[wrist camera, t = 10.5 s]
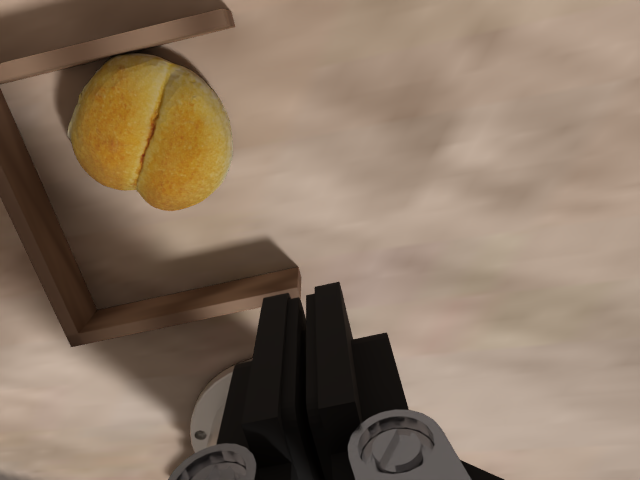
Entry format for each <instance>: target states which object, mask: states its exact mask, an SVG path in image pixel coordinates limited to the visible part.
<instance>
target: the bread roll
mask: <svg viewBox="0 0 640 480" xmlns="http://www.w3.org/2000/svg"><path fill="white" fill-rule="evenodd" d="M67 135H68V137H69V139H70V140H71V142H72V146H73V150H74V153H75V155H76V158H77V160H78V161H79V163H80V165H81V166H82V168H83V169H84V170H85V171H86V172H87V173H88V174H89V175H90V176H91V177H92V178H93V179H95V180H96V181H97V182H99V183H101V184H102V185H104V186H107V187H111V188H114V189H118V190H137V191H138V192H139V193H140V195H141V196H142V197H143V198H144V200H145V201H146V202H148V203H149V204H150V205H151V206H153V207H155V208H158V209H161V210H168V211H174V210H180V209H184V208H187V207H190V206H193V205H195V204H197V203H199V202H201V201H203V200H204V199H205V198H207V197H208V196H209V195H210V194H211V193H213V192H214V191H215V190H216V189H217V188H218V187H219V186H220V185H221V183H222V182H223V181H224V179H225V177H226V175H227V172H228V171H229V168H230V164H231V161H232V155H233V142H232V132H231V127H230V120H229V118H228V115H227V113H226V111H225V108H224V107H223V105H222V102H221V100H220V99H219V98H218V96H217V95H216V94H215V93H214V91H213V90H212V89H211V88H210V87H209V86H208V85H207V84H206V82H205V81H204V80H203V79H202V78H200V77H199V76H198V75H197V74H195V73H194V72H193V71H191V70H189V69H187V68H185V67H183V66H180V65H177V64H174V63H172V62H170V61H168V60H165V59H163V58H161V57H158V56H155V55H150V54H142V53H126V54H120V55H116V56H114V57H112V58H111V59H109V60H108V61H106V62H105V64H104V65H103V66H101V68H100V69H98V70H96V73H95V75H94V76H93V77H92V79H90V81H89V82H88V83H87V84H86V85H85V87H84V88H83V91H82V92H81V93H80V95H79V99H78V104H77V105H76V107H75V110H74V113H73V116H72V119H71V121H70V124H69V127H68V133H67Z"/></svg>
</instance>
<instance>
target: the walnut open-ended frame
mask: <svg viewBox="0 0 640 480" xmlns="http://www.w3.org/2000/svg"><path fill="white" fill-rule="evenodd" d="M233 27H235V24H234V20H233V17H232V13H231V11H229V10H226V9H224V8H221V9H217V10H213V11H209V12H205V13H201V14H197V15H193V16H189V17H185V18H181V19H177V20H173V21H169V22H165V23H161V24H157V25H153V26H149V27H145V28H141V29H136V30H132V31H128V32H124V33H120V34H116V35H112V36H108V37H104V38H100V39H96V40H92V41H88V42H84V43H80V44H76V45H72V46H68V47H64V48H60V49H56V50H52V51H47V52H43V53H39V54H35V55H31V56H27V57H23V58H19V59H15V60H11V61H7V62H3V63H0V84H4V83H8V82H12V81H16V80H20V79H24V78H28V77H32V76H37V75H41V74H45V73H49V72H53V71H57V70H61V69H65V68H69V67H73V66H77V65H81V64H86V63H90V62H94V61H98V60H102V59H106V58H110V57H114V56H116V55H120V54H126V53H131V52H135V51H139V50H143V49H147V48H151V47H155V46H159V45H163V44H167V43H171V42H176V41H180V40H184V39H188V38H192V37H196V36H200V35H204V34H208V33H212V32H216V31H220V30H225V29H229V28H233ZM0 197H1V199H2V201H3V203H4V205H5V207H6V210H7V212H8V214H9V216H10V218H11V220H12V222H13V224H14V227H15V229H16V231H17V233H18V235H19V237H20V239H21V241H22V244H23V246H24V248H25V250H26V252H27V254H28V256H29V258H30V261H31V263H32V265H33V267H34V269H35V271H36V273H37V275H38V277H39V280H40V282H41V284H42V286H43V288H44V290H45V292H46V294H47V297H48V299H49V301H50V303H51V305H52V307H53V309H54V311H55V314H56V316H57V318H58V320H59V322H60V324H61V326H62V328H63V330H64V333H65V335H66V337H67V339H68V341H69V343H70V345H71V347H74V346H79V345H84V344H88V343H93V342H98V341H103V340H107V339H112V338H117V337H122V336H126V335H131V334H136V333H141V332H145V331H150V330H155V329H160V328H164V327H169V326H174V325H178V324H183V323H188V322H193V321H197V320H202V319H207V318H212V317H216V316H221V315H226V314H231V313H235V312H240V311H245V310H250V309H254V308H259V307H262V302H263V298H265V297H270V296H275V295H279V294H284V293H289V294H290V297H291V299H292V298H297V297H299V298H300V299H301V275H300V271H299V267H296V268H291V269H287V270H282V271H277V272H273V273H268V274H263V275H259V276H254V277H249V278H245V279H240V280H235V281H231V282H226V283H221V284H217V285H212V286H207V287H203V288H198V289H193V290H189V291H184V292H179V293H175V294H170V295H165V296H161V297H156V298H151V299H147V300H142V301H137V302H133V303H128V304H123V305H119V306H114V307H109V308H105V309H100V310H97V309H96V307H95V304H94V302H93V300H92V298H91V295H90V293H89V291H88V288H87V286H86V284H85V282H84V279H83V277H82V275H81V272H80V270H79V268H78V265H77V263H76V261H75V259H74V256H73V254H72V252H71V249H70V247H69V245H68V243H67V240H66V238H65V236H64V233H63V231H62V229H61V227H60V224H59V222H58V220H57V217H56V215H55V213H54V211H53V208H52V206H51V204H50V201H49V199H48V197H47V194H46V192H45V190H44V188H43V185H42V183H41V181H40V178H39V176H38V174H37V172H36V169H35V167H34V165H33V162H32V160H31V158H30V156H29V153H28V151H27V149H26V146H25V144H24V142H23V139H22V137H21V135H20V133H19V130H18V128H17V126H16V123H15V121H14V119H13V117H12V114H11V112H10V110H9V107H8V105H7V103H6V101H5V98H4V96H3V94H2V91H1V89H0Z"/></svg>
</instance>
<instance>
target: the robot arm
mask: <svg viewBox="0 0 640 480" xmlns="http://www.w3.org/2000/svg"><path fill="white" fill-rule="evenodd" d="M190 437H191V444H192V447H193V450H194V452H195V454H193V455H192V456H190V457H189V458H187V459H186V460H184V461H183V462H182V463H181V464H180V465H179V466H178V467H177V468H176V469H175V470H174V471H173V473H172V474H171V476H170V477H169V479H168V480H504V479H502V478H499V477H497V476H495V475H493V474H490V473H488V472H486V471H484V470H481V469H479V468H477V467H475V466H473V465H470V464H468V463H466V462H464V461H461V460H460V459H459V458H458V456H457V454H456V453H455V451H454V449H453V448H452V446H451V444H450V442H449V441H448V439H447V437H446V436H445V434H444V432H443V431H442V429H441V428H440V427H439V425H438V424H437V423H436V422H435V421H434V420H433V419H431V418H430V417H428V416H426V415H425V414H423V413H419V412H416V411H412V410H409V409H408V406H407V402H406V399H405V395H404V391H403V388H402V384H401V381H400V377H399V374H398V370H397V366H396V363H395V359H394V356H393V352H392V349H391V345H390V341H389V338H388V335H387V333H382V334H377V335H372V336H368V337H363V338H358V339H353V337H352V333H351V328H350V324H349V320H348V316H347V311H346V307H345V303H344V298H343V294H342V290H341V286H340V282H336V283H331V284H326V285H322V286H317V287H315V294H311V295H306V318H305V314H304V311H303V307H302V303H301V300H300V298H299V297H297V298H292V299H291V297H290V294H289V293H284V294H279V295H275V296H270V297H265V298H263V302H262V307H261V313H260V319H259V325H258V330H257V336H256V342H255V347H254V353H253V359H250V360H247V361H244V362H241V363H237V364H236V365H234V366H232V367H230V368H228V369H226V370H224V371H222V372H221V373H220V374H219V375H217V376H216V377H215V378H214V379H212V380H211V381H210V382H209V384H208V385H207V386H206V387H205V388H204V390H203V391H202V392H201V394H200V396H199V398H198V400H197V402H196V404H195V408H194V411H193V414H192V417H191V424H190Z"/></svg>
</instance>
